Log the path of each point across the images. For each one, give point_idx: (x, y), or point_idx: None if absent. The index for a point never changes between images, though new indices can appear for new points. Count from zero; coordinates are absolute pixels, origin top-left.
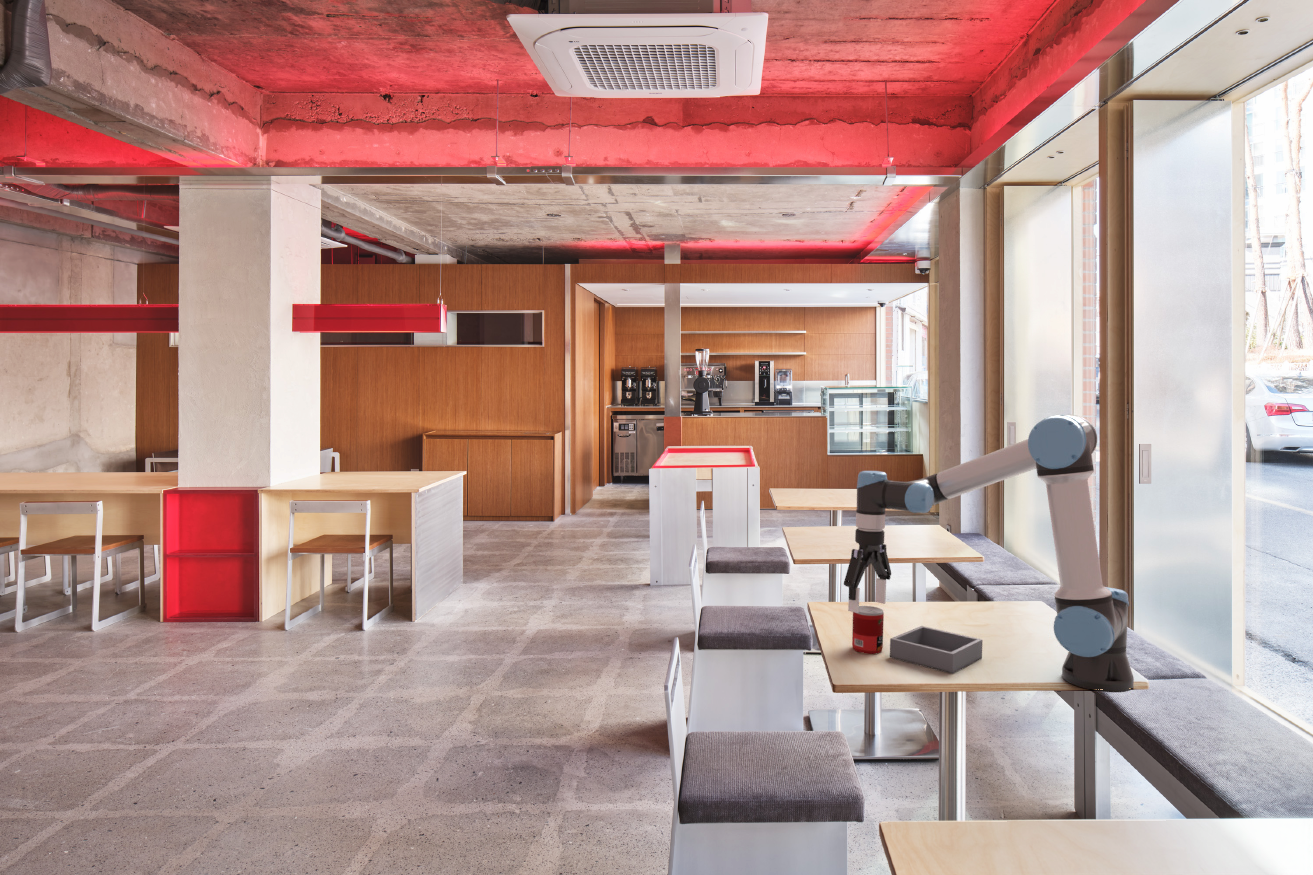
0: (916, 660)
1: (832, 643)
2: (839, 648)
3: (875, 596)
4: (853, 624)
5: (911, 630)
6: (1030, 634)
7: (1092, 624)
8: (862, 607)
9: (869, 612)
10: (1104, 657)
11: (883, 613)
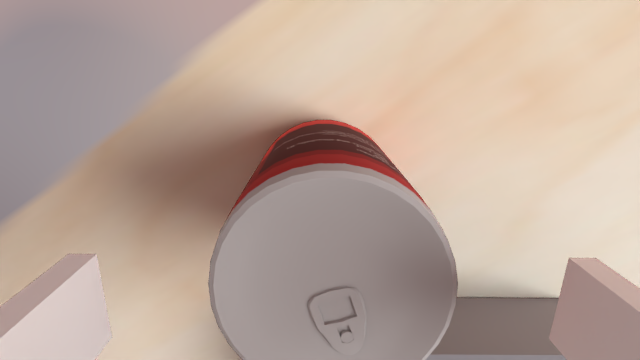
0: None
1: (283, 9)
2: (240, 84)
3: (608, 291)
4: (253, 174)
5: (503, 358)
6: None
7: None
8: (385, 212)
9: (294, 318)
10: None
11: None
